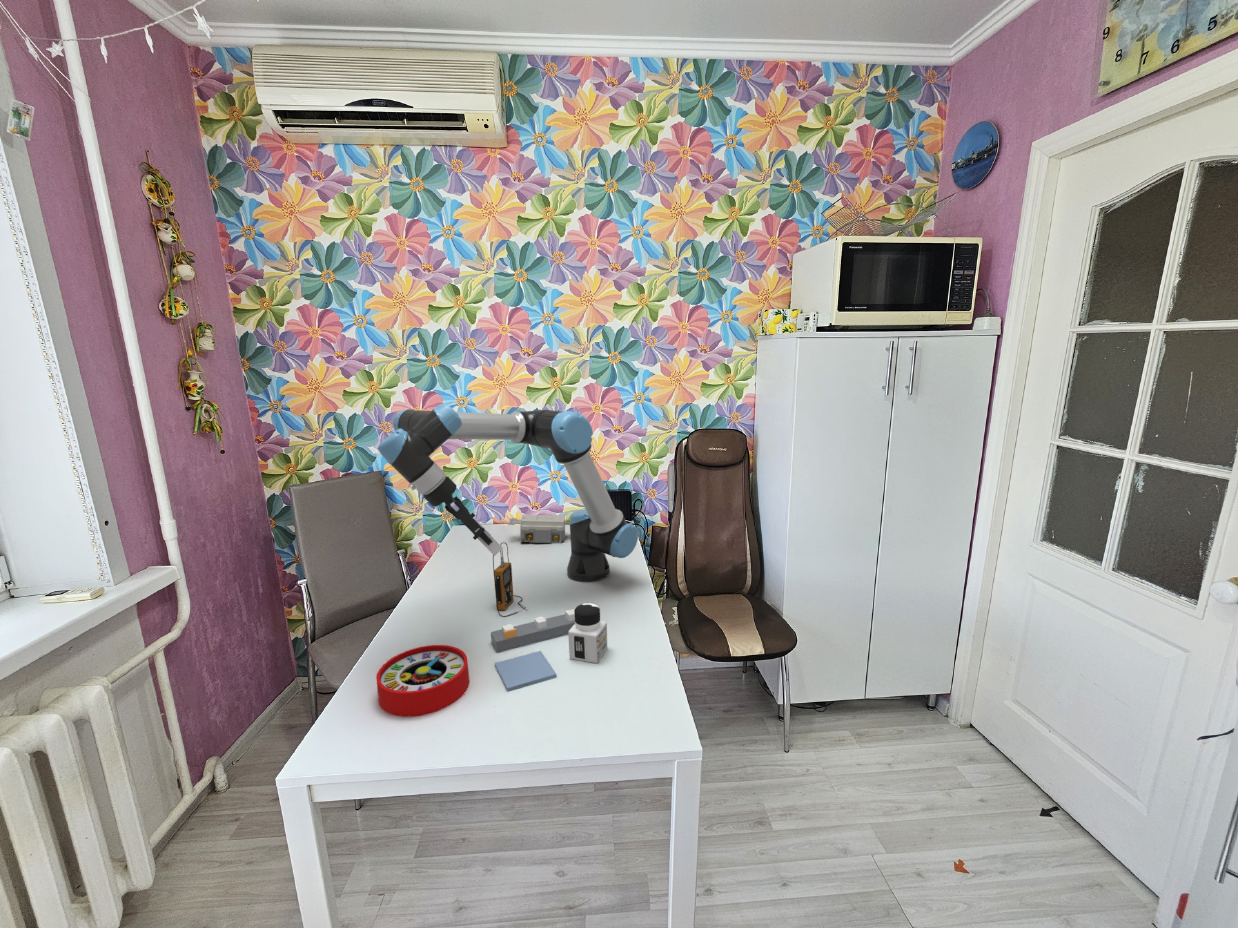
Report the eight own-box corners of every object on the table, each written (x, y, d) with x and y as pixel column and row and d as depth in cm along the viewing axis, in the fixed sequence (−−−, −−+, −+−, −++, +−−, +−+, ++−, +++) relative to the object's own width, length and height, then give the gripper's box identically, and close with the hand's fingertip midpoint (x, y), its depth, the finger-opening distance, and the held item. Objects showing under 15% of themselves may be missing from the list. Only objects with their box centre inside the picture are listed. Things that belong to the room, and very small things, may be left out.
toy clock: (355, 685, 119) (414, 640, 138) (358, 709, 120) (416, 661, 139) (433, 699, 113) (483, 650, 132) (436, 724, 114) (485, 672, 133)
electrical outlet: (510, 535, 234) (510, 513, 232) (576, 537, 236) (577, 515, 234) (506, 544, 222) (507, 521, 221) (576, 546, 225) (577, 523, 223)
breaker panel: (580, 620, 158) (579, 604, 157) (588, 628, 153) (587, 612, 152) (491, 642, 147) (490, 625, 146) (496, 652, 141) (495, 634, 141)
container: (597, 663, 135) (595, 615, 133) (569, 658, 138) (566, 611, 135) (607, 648, 142) (606, 602, 140) (580, 643, 145) (578, 598, 142)
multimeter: (522, 618, 160) (518, 554, 156) (491, 616, 162) (486, 552, 158) (539, 597, 174) (536, 538, 170) (510, 595, 176) (506, 536, 172)
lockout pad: (540, 653, 141) (540, 650, 140) (556, 676, 130) (556, 673, 130) (494, 665, 135) (494, 662, 135) (507, 691, 125) (507, 688, 125)
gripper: (417, 487, 141) (472, 543, 149) (427, 505, 119) (491, 569, 126) (440, 468, 143) (493, 523, 151) (454, 482, 120) (515, 546, 128)
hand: (492, 544), depth 138 cm, fingers open, 13 cm apart
